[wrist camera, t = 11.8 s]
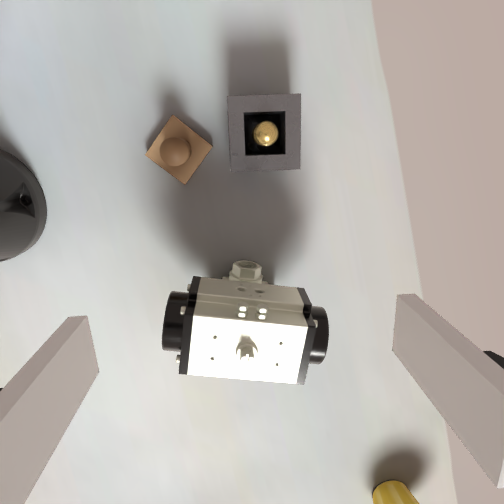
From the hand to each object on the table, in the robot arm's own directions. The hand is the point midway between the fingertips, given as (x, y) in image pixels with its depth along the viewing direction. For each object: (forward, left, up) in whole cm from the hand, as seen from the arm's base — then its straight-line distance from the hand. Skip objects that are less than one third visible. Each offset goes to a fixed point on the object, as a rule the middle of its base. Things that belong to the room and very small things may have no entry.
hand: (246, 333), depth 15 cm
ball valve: (+8, -9, -35) cm, 37 cm away
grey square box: (-3, +9, -33) cm, 34 cm away
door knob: (-3, +9, -34) cm, 36 cm away
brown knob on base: (-10, +1, -34) cm, 36 cm away
